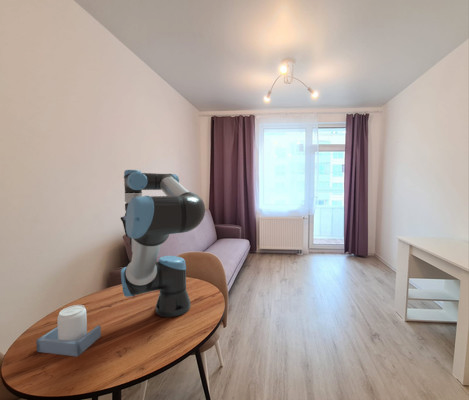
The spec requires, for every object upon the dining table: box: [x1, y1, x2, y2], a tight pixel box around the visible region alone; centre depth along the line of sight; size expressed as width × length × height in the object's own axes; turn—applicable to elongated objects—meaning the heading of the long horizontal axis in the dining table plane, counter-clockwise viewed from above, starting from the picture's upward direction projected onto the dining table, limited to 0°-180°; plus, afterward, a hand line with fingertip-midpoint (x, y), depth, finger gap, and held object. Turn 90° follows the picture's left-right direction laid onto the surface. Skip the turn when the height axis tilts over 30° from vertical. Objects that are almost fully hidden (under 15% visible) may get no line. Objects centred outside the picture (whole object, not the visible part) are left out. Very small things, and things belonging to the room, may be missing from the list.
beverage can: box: [56, 304, 88, 342], centre depth 76 cm, size 8×8×12 cm
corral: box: [35, 324, 102, 358], centre depth 76 cm, size 15×10×4 cm, turn 81°
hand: (134, 251), depth 105 cm, fingers closed
